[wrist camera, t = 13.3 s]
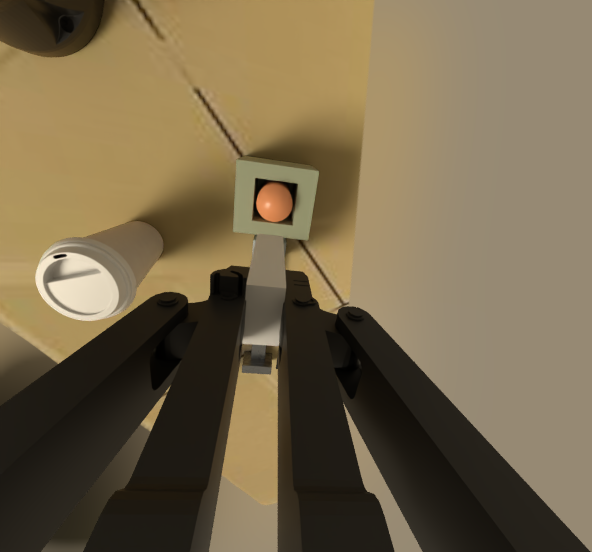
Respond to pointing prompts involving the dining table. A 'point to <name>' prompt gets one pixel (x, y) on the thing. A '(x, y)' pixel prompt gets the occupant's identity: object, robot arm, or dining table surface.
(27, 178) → the dining table surface
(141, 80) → the dining table surface
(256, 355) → the rail
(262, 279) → the robot arm
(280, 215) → the orange rounded piece
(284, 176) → the green square holder
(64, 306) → the coffee cup
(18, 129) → the dining table surface
